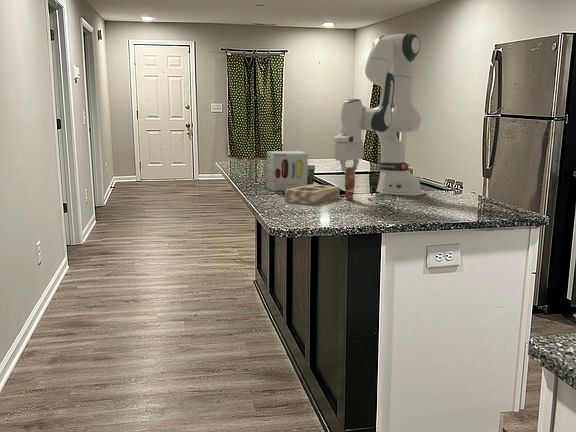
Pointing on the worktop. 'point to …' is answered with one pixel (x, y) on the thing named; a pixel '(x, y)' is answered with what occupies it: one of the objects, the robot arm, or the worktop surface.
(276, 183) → the supplement box
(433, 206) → the worktop surface
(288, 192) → the board
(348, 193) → the peg
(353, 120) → the robot arm
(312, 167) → the food container
